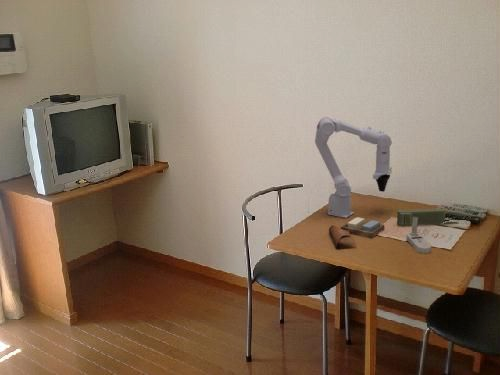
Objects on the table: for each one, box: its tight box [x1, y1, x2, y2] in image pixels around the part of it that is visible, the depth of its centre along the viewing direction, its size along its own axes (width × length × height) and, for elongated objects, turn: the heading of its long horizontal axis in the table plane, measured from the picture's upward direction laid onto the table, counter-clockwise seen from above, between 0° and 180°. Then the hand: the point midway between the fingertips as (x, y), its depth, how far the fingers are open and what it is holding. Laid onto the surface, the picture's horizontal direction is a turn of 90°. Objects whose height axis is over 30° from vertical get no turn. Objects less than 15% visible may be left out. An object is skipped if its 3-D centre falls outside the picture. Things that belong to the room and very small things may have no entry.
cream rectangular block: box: [347, 216, 365, 229], centre depth 226 cm, size 8×4×3 cm, turn 142°
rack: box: [340, 220, 386, 239], centre depth 223 cm, size 14×11×2 cm
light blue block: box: [362, 219, 381, 232], centre depth 222 cm, size 8×4×3 cm, turn 137°
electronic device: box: [406, 217, 432, 254], centre depth 205 cm, size 5×10×15 cm
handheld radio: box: [396, 208, 459, 227], centre depth 226 cm, size 7×3×25 cm
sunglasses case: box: [328, 225, 358, 250], centre depth 214 cm, size 18×7×7 cm
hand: (381, 191), depth 239 cm, fingers closed
